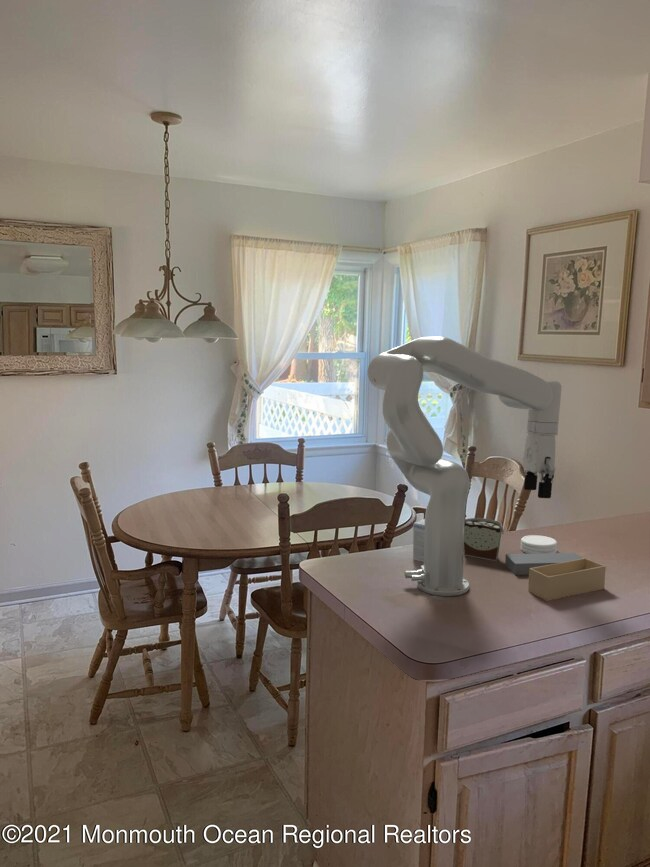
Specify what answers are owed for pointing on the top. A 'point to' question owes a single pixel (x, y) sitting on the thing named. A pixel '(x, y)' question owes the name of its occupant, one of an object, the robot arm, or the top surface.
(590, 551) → the top surface
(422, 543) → the light bulb box
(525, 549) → the white short cylinder
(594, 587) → the tan open box
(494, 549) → the food container
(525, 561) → the lid
